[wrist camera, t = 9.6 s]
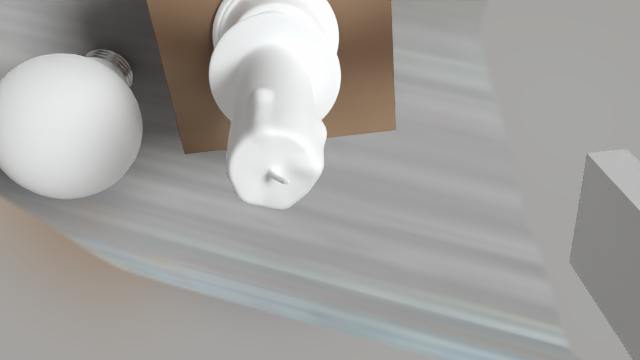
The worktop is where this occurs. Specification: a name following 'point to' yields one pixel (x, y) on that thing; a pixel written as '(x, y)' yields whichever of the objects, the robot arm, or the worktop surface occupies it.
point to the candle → (275, 94)
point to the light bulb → (69, 123)
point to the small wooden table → (353, 53)
